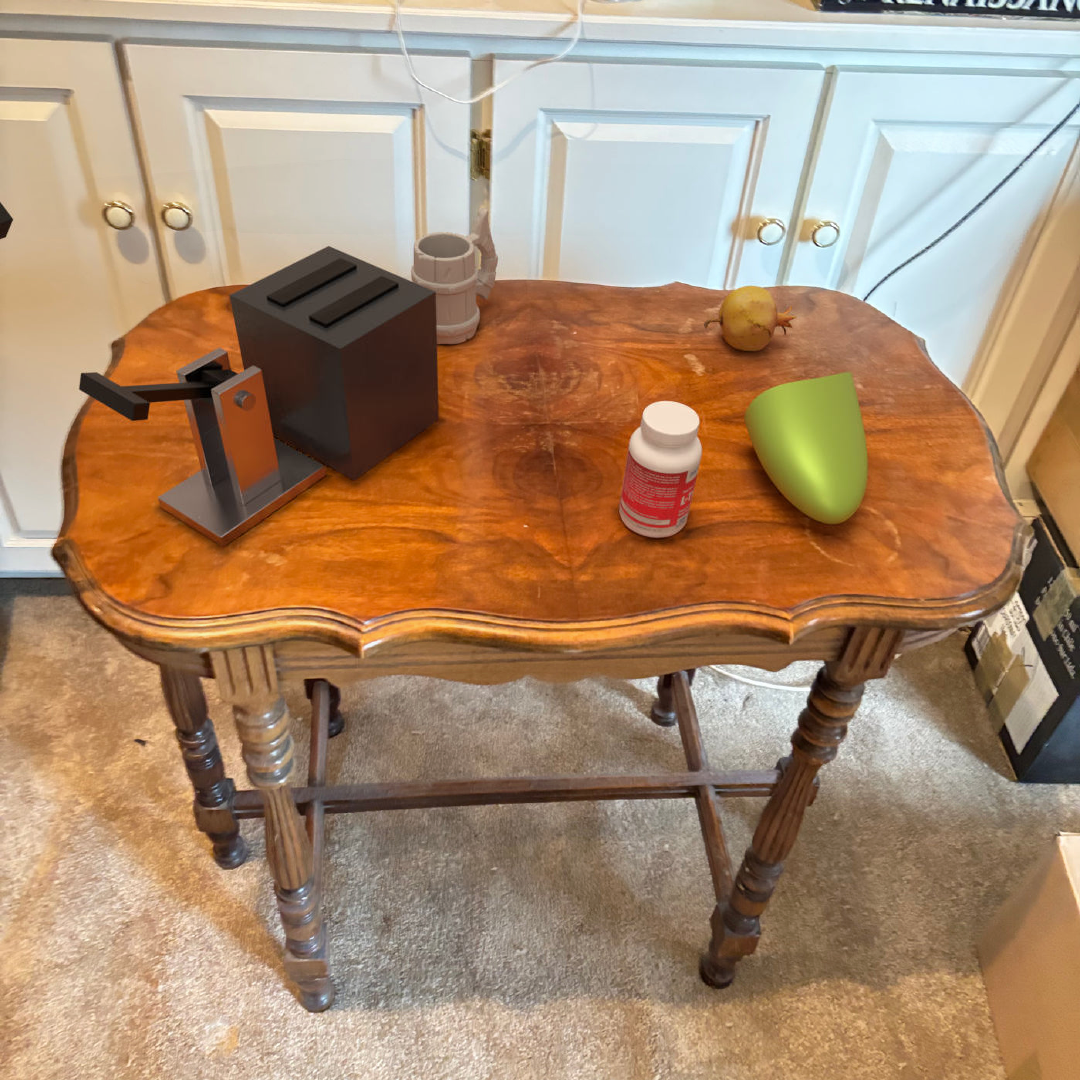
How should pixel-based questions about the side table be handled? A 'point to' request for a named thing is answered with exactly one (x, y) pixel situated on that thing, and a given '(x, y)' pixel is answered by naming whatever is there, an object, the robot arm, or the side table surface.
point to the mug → (456, 277)
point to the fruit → (750, 318)
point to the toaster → (342, 357)
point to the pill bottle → (661, 470)
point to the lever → (149, 392)
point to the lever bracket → (235, 457)
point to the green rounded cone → (813, 444)
